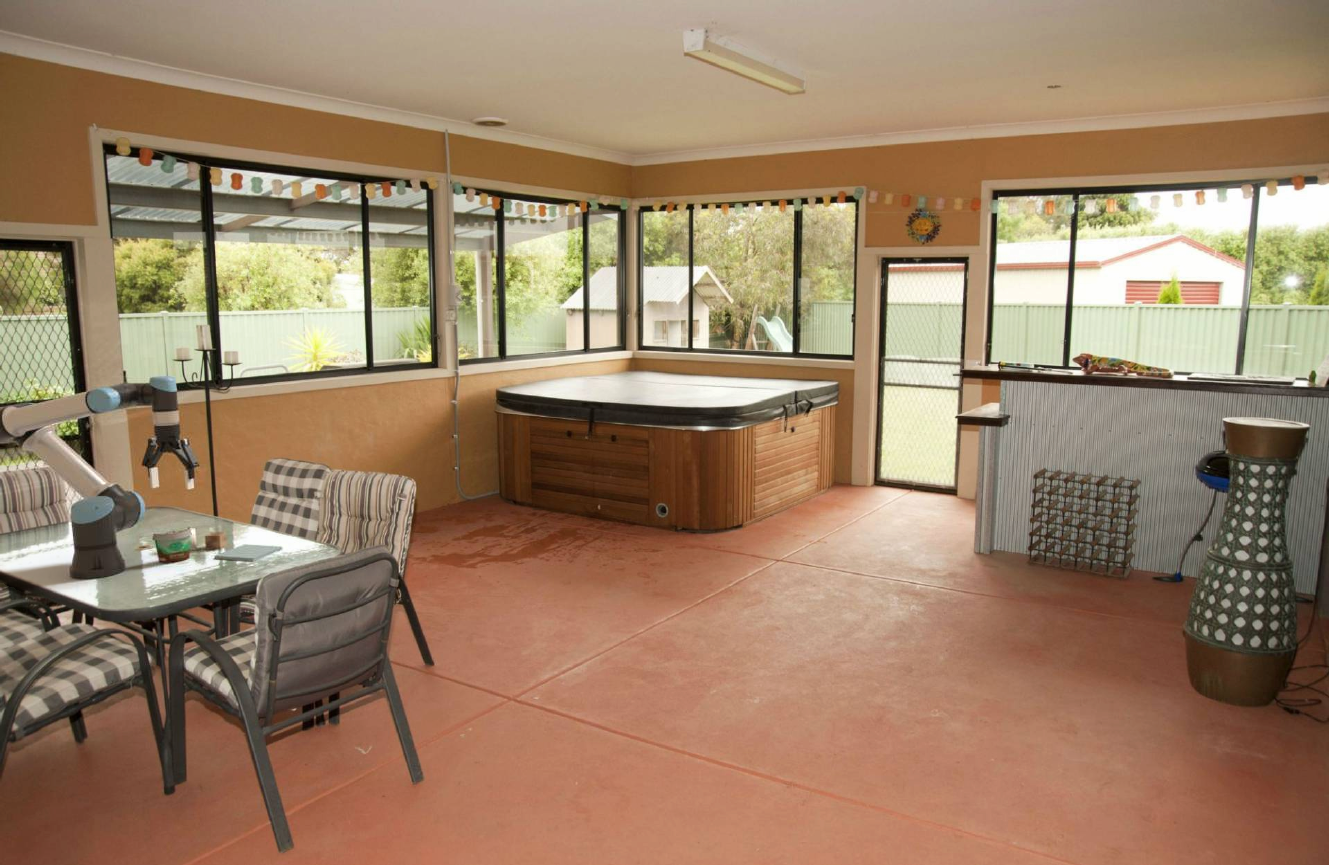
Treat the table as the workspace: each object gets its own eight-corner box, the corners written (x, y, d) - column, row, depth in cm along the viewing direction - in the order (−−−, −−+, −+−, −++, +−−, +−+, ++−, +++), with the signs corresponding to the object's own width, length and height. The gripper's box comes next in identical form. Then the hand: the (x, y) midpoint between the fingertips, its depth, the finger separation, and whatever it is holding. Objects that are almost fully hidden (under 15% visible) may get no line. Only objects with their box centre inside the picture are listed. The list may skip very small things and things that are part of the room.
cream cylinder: (177, 550, 320) (175, 531, 319) (188, 547, 325) (186, 527, 324) (189, 551, 319) (188, 531, 318) (200, 547, 324) (198, 528, 323)
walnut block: (206, 549, 321) (204, 535, 321) (212, 546, 326) (211, 532, 326) (220, 549, 321) (219, 535, 321) (227, 545, 326) (226, 532, 326)
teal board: (214, 558, 310) (214, 555, 309) (244, 547, 324) (244, 544, 324) (253, 561, 306) (253, 558, 306) (282, 549, 320) (282, 546, 320)
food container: (163, 566, 301) (160, 536, 300) (154, 563, 305) (151, 533, 303) (201, 557, 311) (198, 528, 309) (192, 555, 314) (189, 526, 313)
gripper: (207, 423, 302) (213, 487, 305) (143, 421, 308) (149, 484, 311) (190, 426, 295) (196, 491, 298) (125, 424, 301) (131, 489, 304)
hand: (172, 488), depth 304 cm, fingers open, 13 cm apart
